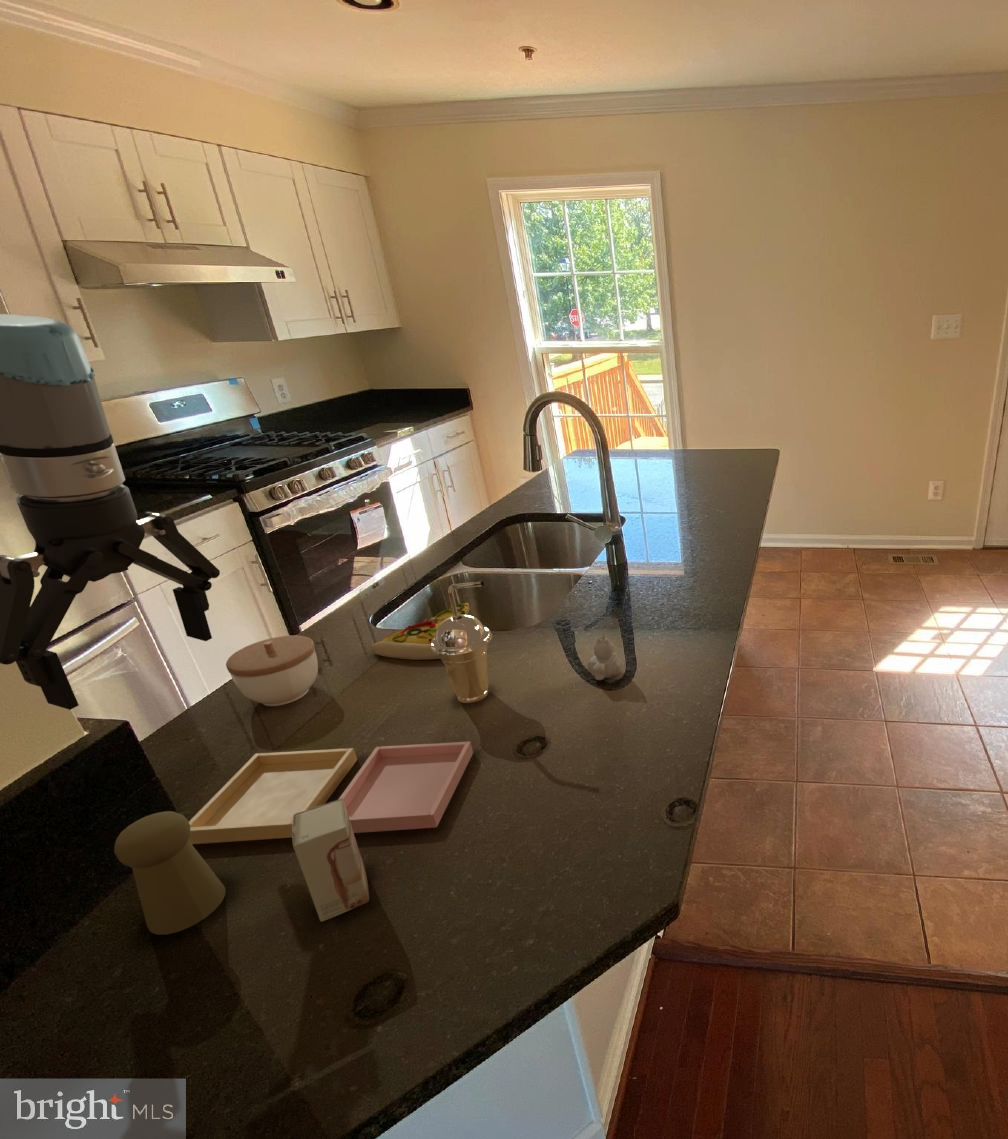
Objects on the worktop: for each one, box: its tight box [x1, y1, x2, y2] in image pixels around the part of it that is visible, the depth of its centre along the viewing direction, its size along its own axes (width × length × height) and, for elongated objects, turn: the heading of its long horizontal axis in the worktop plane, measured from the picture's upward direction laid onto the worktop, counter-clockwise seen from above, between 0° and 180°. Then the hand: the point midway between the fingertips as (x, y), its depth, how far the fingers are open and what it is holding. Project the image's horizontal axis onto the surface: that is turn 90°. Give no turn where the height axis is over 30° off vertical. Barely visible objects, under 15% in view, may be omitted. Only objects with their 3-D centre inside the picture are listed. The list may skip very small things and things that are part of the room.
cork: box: [113, 810, 227, 935], centre depth 60 cm, size 6×6×11 cm
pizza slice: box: [371, 602, 470, 661], centre depth 114 cm, size 16×21×3 cm
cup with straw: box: [431, 580, 493, 704], centre depth 92 cm, size 8×9×20 cm
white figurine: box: [587, 632, 623, 681], centre depth 100 cm, size 5×7×8 cm
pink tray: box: [337, 741, 474, 834], centre depth 77 cm, size 12×13×2 cm
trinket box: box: [225, 634, 319, 707], centre depth 94 cm, size 11×11×9 cm
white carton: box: [291, 798, 370, 922], centre depth 62 cm, size 5×4×10 cm
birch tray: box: [188, 747, 358, 845], centre depth 75 cm, size 12×13×2 cm
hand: (137, 668), depth 68 cm, fingers open, 13 cm apart
